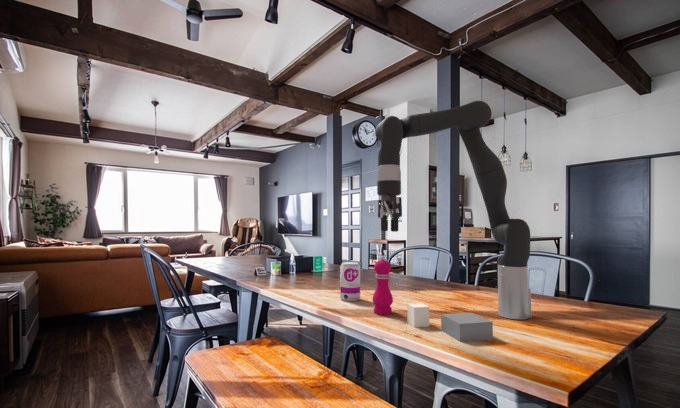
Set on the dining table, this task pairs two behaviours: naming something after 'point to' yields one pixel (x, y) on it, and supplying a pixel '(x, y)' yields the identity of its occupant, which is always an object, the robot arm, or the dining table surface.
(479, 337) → the slate base
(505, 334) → the dining table surface
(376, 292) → the pepper mill
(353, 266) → the supplement can
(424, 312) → the cream block
